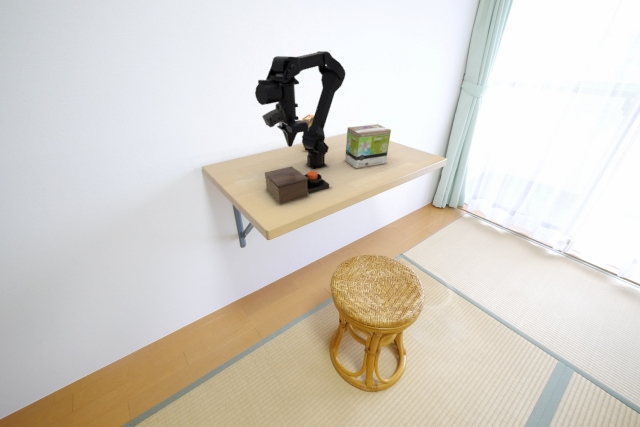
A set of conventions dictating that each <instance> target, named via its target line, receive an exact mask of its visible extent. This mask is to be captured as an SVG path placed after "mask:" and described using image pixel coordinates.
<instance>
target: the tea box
mask: <svg viewBox="0 0 640 427" xmlns="http://www.w3.org/2000/svg"><path fill="white" fill-rule="evenodd" d="M391 132H392V130H391V129H390V128H388V127H385V126H383V125H381V124H378V123H377V124H367V125H357V126H348V127H347V132H346V143H345V144H346V145H345V154H344V155H345V157H344V161H345V162H346V163H348V164H349V165H350V166H352V167H353V168H354V169H359V168H364V167H371V166H378V165H385V164H386V163H387V157H388V151H389V146H390V138H391V134H392V133H391Z"/></svg>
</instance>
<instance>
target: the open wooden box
mask: <svg viewBox="0 0 640 427" xmlns="http://www.w3.org/2000/svg"><path fill="white" fill-rule="evenodd" d="M264 179H265V187H266V191H267V192H268V193H269V194H270V196H272V197H273V199H274V200H275V201H276V202H277V203H278V204H279V205H283V204H287V203H290V202H293V201H297V200H300V199H301V200H302V199H304V198H307V197H309V193H308V189H307V180H305V181H301V182H297V183H293V184H289V185H285V186H281V187H278V186H277V185H276V184H275V183H274V182H273V181H272V180H271V179H270V178H269V177H267V176H266V175H265V174H264Z"/></svg>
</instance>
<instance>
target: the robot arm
mask: <svg viewBox="0 0 640 427" xmlns="http://www.w3.org/2000/svg"><path fill="white" fill-rule="evenodd" d="M316 67H317V69H318V72H319V73H320V75H321V79H320V81H321V87H322V89H321V93H320V95H319V99H318V102H317V105H316V109H315V112H314V114H313V115H314V118H313V122H312V125H311V126H310V127H309V125H308V124H307V123H306V122H304V121H302V119H299V116H297V109H296V108H298V107H299V104H298V103H297V102H296V90H295V89H296V88H295V86H296V85H300V81H299V80H298V79H297V78H296V76H298V75H299V74H300V73H301V72H302V71H305V70H308V69H313V68H316ZM345 70H346V69H345V68H344V66H343V65H342V63H341V62H340V61H338V60H337V59H336V58H334V57H333V55H332V54H331V52H329V51H327V50H326V51H325V50H324V51H323V50H322V51H320V50H319V51H316V52H313V53H308V54H304V55H299V56H284V55H283V56H282V55H277V56H274V57H273V58H272V62H271V65H270V69H269V71H268V73H267V76H266V78H265V79H258V80H257V85H256V87H255V91H254V95H255V98H256V101H257V102H258V104H259V105H261V106H264V105H272V104H275V105H274V106H275V108H274V109H272V110H270V111H268V112H266V113H265V114H263V115H262V116H261V117H262V120H263V121H264V123H265V125H266V126H267V127H269V128H273V127H277V128H278V129H279V130H281V131H282V134H283V136H284V139H285V141H286V144H287V147H289V148H290V147H292V146H293V145H294V142H295V140H296V137H297V135H298V133H302V136H301V143H302V146H303V149H304V148H305V151H304V152H307V155H306V159H307V160H306V166H308V167H309V168H311V169H312V170H316V169H321V168H324V167H327V164H326V163H325V162H326V161H325V159H326V158H325V156H326V153H328V152H329V146H328V145H327V143H326V142H325V138H326V135H325V125H326V123H327V120H328V116H329V113H330V109H331V106H332V103H333V100H334V96H335V94H336V92H337V91H339V89H340V88H341V87H342V86H343V83H344V80H345V78H346V71H345ZM277 124H278V125H277ZM276 125H277V126H276ZM303 132H304V134H303Z"/></svg>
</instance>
